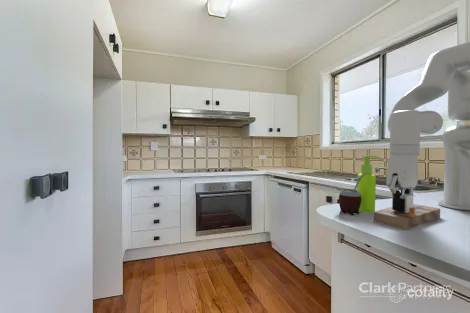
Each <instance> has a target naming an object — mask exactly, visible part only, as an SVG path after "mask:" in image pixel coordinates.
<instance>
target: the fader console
mask: <svg viewBox="0 0 470 313" xmlns="http://www.w3.org/2000/svg"><path fill="white" fill-rule="evenodd" d="M372 216H373V217H372V218H373V219H372V222H375V223H379V224H382V225H384V226H385V225H386V226H390V227H394V228H397V229H401V230H405V231H407V230H410V229H412V228H416V227H418V226H421V225H424V224H427V223H429V222H432V221H435V220H437V219H440V218H441V208H440V207H439V208H438V207H433V206H427V205H421V204H417V203H413V208H409V212H408V213H405V212H400V211H395V210H392V206H391V207H388V208H387V207H386V208H384V209H383V208H382V209H380V210H375V212H373V215H372Z"/></svg>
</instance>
